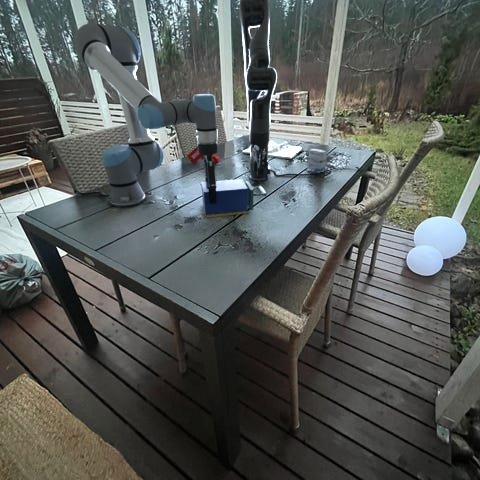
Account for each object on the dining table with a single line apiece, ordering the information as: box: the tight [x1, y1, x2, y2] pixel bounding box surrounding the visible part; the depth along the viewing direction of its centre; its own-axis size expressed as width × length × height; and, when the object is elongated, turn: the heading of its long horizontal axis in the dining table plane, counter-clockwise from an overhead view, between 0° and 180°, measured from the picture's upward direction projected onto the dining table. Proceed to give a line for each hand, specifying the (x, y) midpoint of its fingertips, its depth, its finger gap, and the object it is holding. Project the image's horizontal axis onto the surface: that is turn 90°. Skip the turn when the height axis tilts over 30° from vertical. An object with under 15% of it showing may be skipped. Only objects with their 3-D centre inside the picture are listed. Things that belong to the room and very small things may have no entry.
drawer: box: [244, 180, 267, 211], centre depth 114 cm, size 22×10×9 cm, turn 102°
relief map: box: [242, 138, 304, 160], centre depth 192 cm, size 27×35×5 cm
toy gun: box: [186, 145, 221, 166], centre depth 168 cm, size 18×4×15 cm
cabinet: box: [200, 178, 249, 219], centre depth 113 cm, size 17×11×11 cm, turn 102°
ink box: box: [306, 148, 328, 173], centre depth 153 cm, size 8×5×12 cm, turn 47°
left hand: (211, 197), depth 111 cm, fingers closed on cabinet, 11 cm apart
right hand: (258, 174), depth 110 cm, fingers open, 5 cm apart
